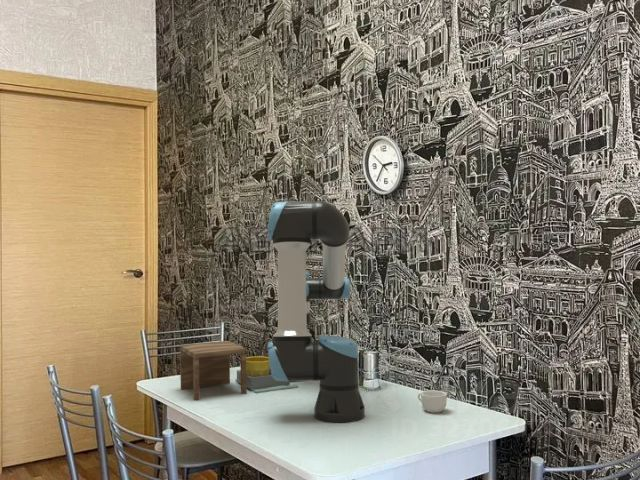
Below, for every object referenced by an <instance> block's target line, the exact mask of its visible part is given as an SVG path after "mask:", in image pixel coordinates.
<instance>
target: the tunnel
mask: <svg viewBox="0 0 640 480" xmlns="http://www.w3.org/2000/svg"><path fill="white" fill-rule="evenodd" d="M236 354H237V355H239V354H240V356H239V358H240V364H241V367H240V370H241V383H240V394H241V395H247V392H248V390H247V389H248V388H247V387H246V358H247V348H246V347H244V346H241V345H239V344H237V343H234V342H232V341H230V340H222V341H212V342H200V343H192V344H191V343H190V344H189V343H188V344H181V345H179V358H180V359H179V360H180V361H179V366H180V367H179V369H180V370H179V371H180V374H179V375H180V378H179V379H180V389H181V390H189V389H193V400H194V401H195V400H196V401H200V388H203V387H204V386H205V387H211V386H220V385H229V384H231V367H230V365H231V364H230V363H231V360H230V359H231V358H230V355H236ZM240 364H239V365H240ZM205 387H204V388H205ZM188 388H189V389H188Z"/></svg>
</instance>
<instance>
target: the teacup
mask: <svg viewBox="0 0 640 480" xmlns="http://www.w3.org/2000/svg"><path fill="white" fill-rule="evenodd" d="M447 398H448V393H447V392H445V391H442V390H433V389H432V390H431V389H429V390H422V391H421V392H420V393H419V394H418V396H417V399H418V401H419V402H420V403H421V405H422V408H423V409H424V411H425V412H427V413H430V412H431V414H440V413H442V412H443V411H444V410H445V409H446V407H447V403H448V402H447Z"/></svg>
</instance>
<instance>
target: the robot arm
mask: <svg viewBox="0 0 640 480" xmlns="http://www.w3.org/2000/svg"><path fill="white" fill-rule="evenodd" d="M267 239H268V240H270V241H272V247H274V248H275V250H276V251H277V331H276V332H275V333H274V334H273V335H272V340H271V341H269V342H268V343H267V351H268V354H267V355H268V357H269V363H270V369H271V373H272V376H273V378H274V379H275V380H277V381H288V382H290V383H291V382H308V381H309V382H313V381H314V382H315V381H317V382H319V389H318V395H317V398H316V401H315V404H314V408H313V417H315V419H317V420H319V421H323V422H328V423H349V422H355V421H358V420H362V419H363V418H364V417H365V416H366V408H365V405H364V402H363V398H362V396H361V392H360V388H359V387H360V386H359V358H360V356H359V347H358V344H357V342H356V341H355V340H354V339H352V338H349V337H345V336H340V335H339V336H338V335H329V334H328V335H320V336H319V337H318V340H313V339H312V338H313V337H312V329H311V328H308V326H307V325H308V324H310V323H311V313H310V311H311V309H310V308H311V302H310V301H312V300H315V301H317V300H347V299H349V298H350V296H351V287H350V286H351V282H350V279H349V278H348V277H346V252H347V251H346V250H347V249H346V248H347V246H346V245H347V243H348V242H349V240H350V227H349V222H348V221H347V219H346V217H345V216H344V214H343V212H342V211H340V209H339V208H337V207H336V206H335V205H333V204H331V203H329V202H327V201H324V200H322V201H321V200H315V201H312V200H311V201H310V200H308V201H307V200H305V201H304V200H303V201H300V200H299V201H298V200H297V201H296V200H295V201H294V200H293V201H292V200H290V201H289V200H287V201H279V202H274V203H273V204H272V205H271V209H270V212H269V217H268V225H267ZM312 240H320V243H321V244H322V277H323V278H320V277H319V278H310V273H309V271H307V259H306V258H307V255H306V254H307V252H306V251H307V249H309V247H310V246H311V243H312V242H311V241H312Z"/></svg>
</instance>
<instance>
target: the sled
mask: <svg viewBox="0 0 640 480" xmlns="http://www.w3.org/2000/svg"><path fill="white" fill-rule="evenodd" d="M236 379H237V382H236V383H239V384H241V369H237V370H236ZM290 383H291V381H290V382H288V381H277V380H275V379H274V378H273V376H272V373H271V369H269V374H268V376H260V377H251V376H249V375H246V387H247V389H248V390H252V391H254V390H260V389H267V388H275V387H282V386H290Z"/></svg>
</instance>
